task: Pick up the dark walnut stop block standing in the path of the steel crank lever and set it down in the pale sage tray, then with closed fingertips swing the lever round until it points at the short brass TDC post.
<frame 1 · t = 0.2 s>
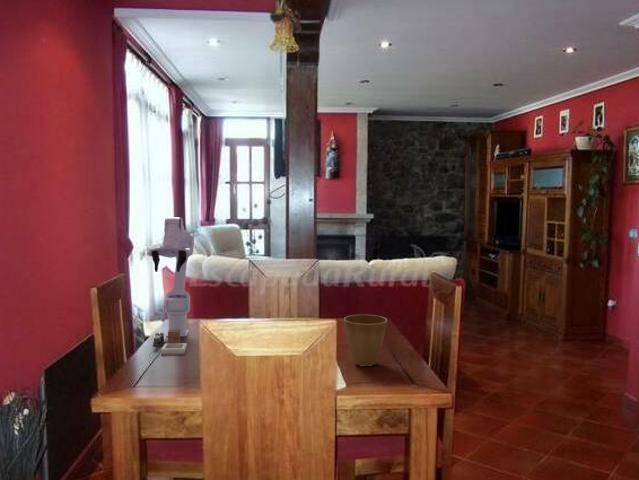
hand: (166, 270, 189), 30 cm above the table, tool tilted 45°, fingers open, 7 cm apart
crank: (158, 339, 199), point 3 cm above the table, hinge at 0.0°
tray: (174, 351, 193), on the table
crank base: (159, 344, 202), on the table
plant pot: (364, 364, 183), on the table
stop block: (174, 345, 201), on the table
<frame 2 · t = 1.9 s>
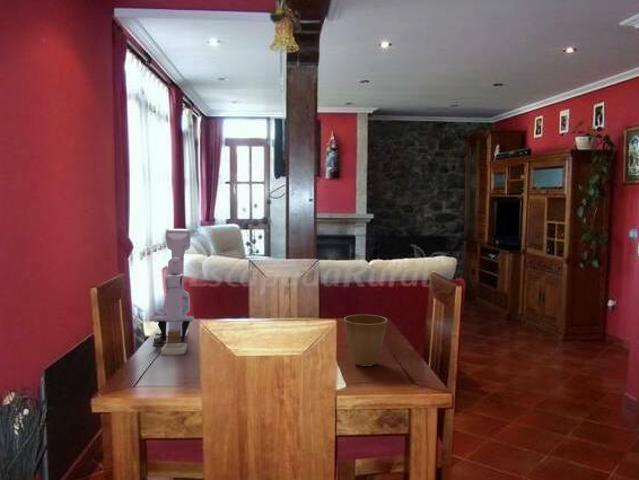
hand: (174, 340, 201), 2 cm above the table, tool pointing down, fingers open, 6 cm apart
crank: (158, 339, 199), point 3 cm above the table, hinge at 0.0°, touching gripper
everything else where it was.
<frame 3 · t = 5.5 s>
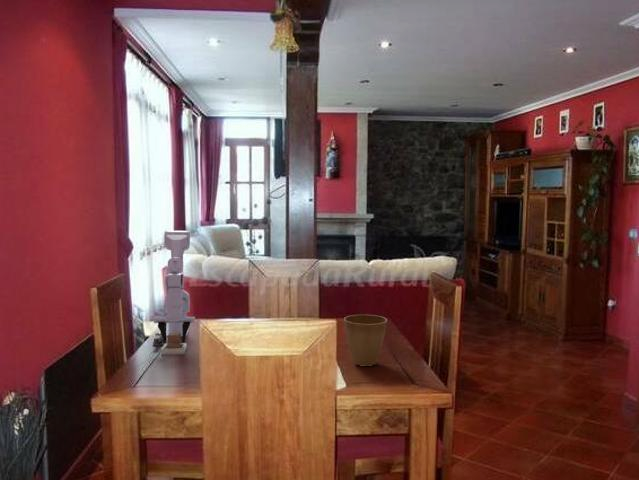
hand: (174, 342, 193), 4 cm above the table, tool pointing down, fingers open, 6 cm apart
crank: (158, 339, 199), point 3 cm above the table, hinge at 0.1°
stop block: (174, 349, 193), point 1 cm above the table, touching tray
everything else where it was.
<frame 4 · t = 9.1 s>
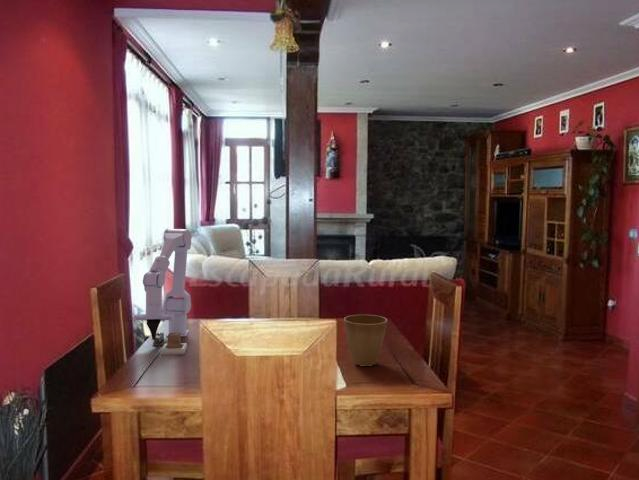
hand: (153, 339, 198), 3 cm above the table, tool pointing down, fingers closed, pressing on crank
crank: (158, 339, 199), point 3 cm above the table, hinge at 0.1°, touching gripper
everything else where it was.
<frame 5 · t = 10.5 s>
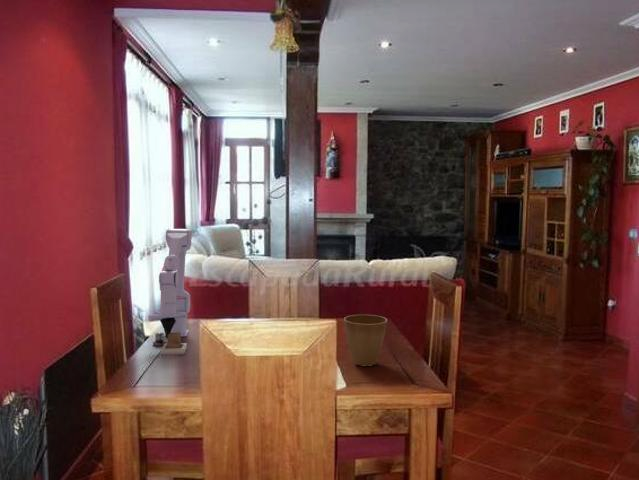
hand: (167, 337, 199), 3 cm above the table, tool pointing down, fingers closed, pressing on crank
crank: (166, 337, 201), point 3 cm above the table, hinge at 67.2°, touching gripper
everything else where it was.
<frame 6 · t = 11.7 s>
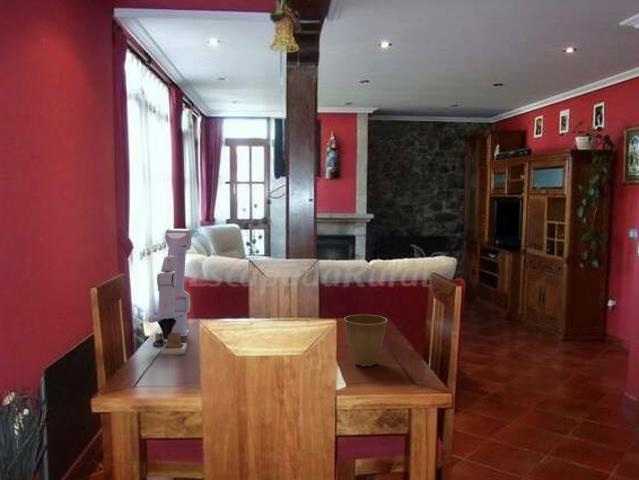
hand: (166, 338, 199), 3 cm above the table, tool pointing down, fingers closed
crank: (167, 337, 203), point 3 cm above the table, hinge at 88.0°
everything else where it was.
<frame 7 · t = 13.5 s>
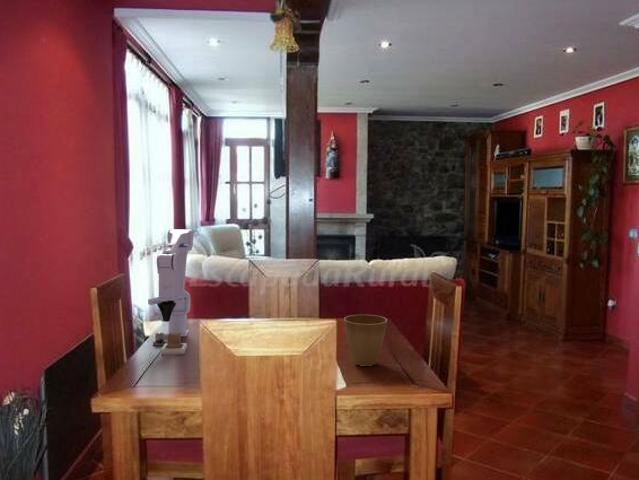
hand: (166, 321, 199), 10 cm above the table, tool pointing down, fingers closed
nothing on the table moved.
at the end: crank at +88° (first picture: +0°); stop block 0.1 cm off-centre on the tray, point 0.6 cm above the tray's base; the gripper is holding nothing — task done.
